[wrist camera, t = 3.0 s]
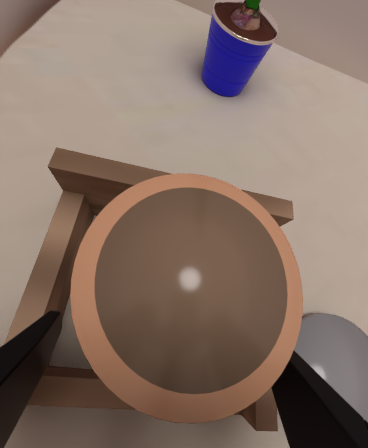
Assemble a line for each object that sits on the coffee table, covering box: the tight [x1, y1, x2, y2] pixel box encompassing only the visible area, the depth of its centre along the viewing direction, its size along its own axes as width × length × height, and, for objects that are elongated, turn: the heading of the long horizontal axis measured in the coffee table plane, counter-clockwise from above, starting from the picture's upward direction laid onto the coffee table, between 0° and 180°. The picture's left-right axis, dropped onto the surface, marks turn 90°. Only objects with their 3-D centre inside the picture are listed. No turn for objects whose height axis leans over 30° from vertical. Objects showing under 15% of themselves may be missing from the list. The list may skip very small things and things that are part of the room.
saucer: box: [294, 313, 368, 422], centre depth 18 cm, size 11×11×1 cm
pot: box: [70, 174, 303, 424], centre depth 12 cm, size 7×7×13 cm
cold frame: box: [4, 148, 294, 431], centre depth 15 cm, size 15×17×7 cm
